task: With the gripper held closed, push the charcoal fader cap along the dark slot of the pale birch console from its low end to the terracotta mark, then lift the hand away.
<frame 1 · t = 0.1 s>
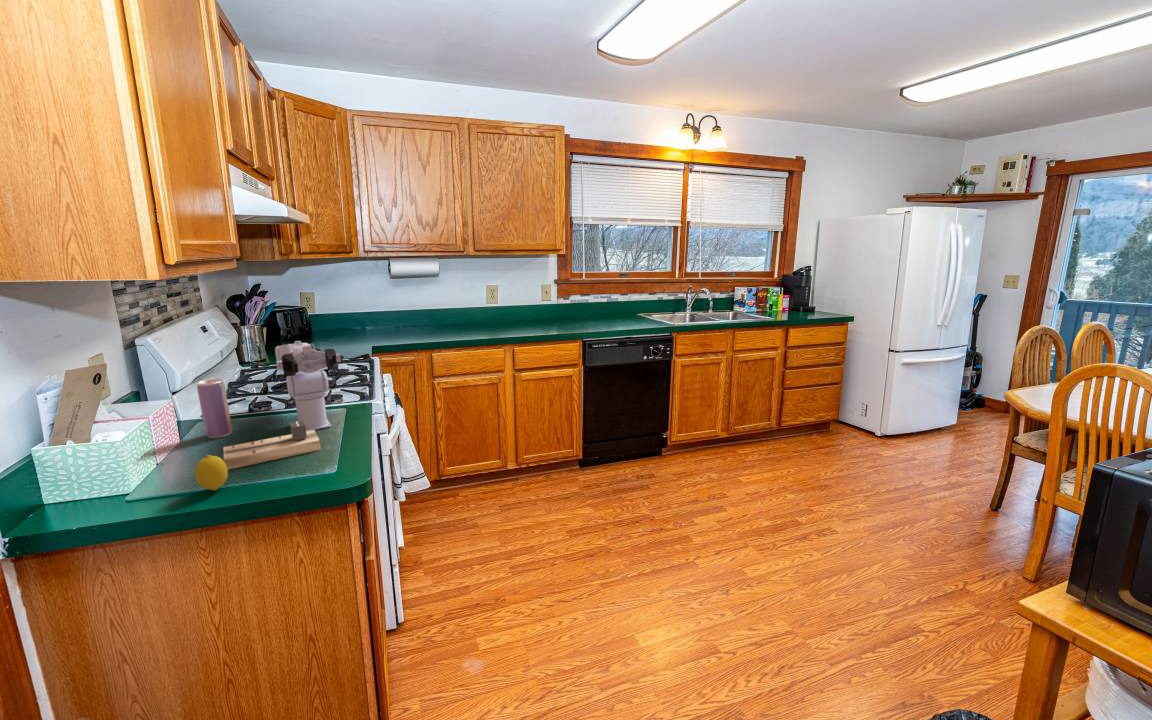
hand: (314, 365, 125), 22 cm above the countertop, tool horizontal, fingers open, 7 cm apart
lemon: (215, 491, 109), on the countertop
beverage can: (220, 435, 140), on the countertop
fader: (298, 430, 129), point 5 cm above the countertop, slide at 0.0 cm
console: (273, 453, 127), on the countertop
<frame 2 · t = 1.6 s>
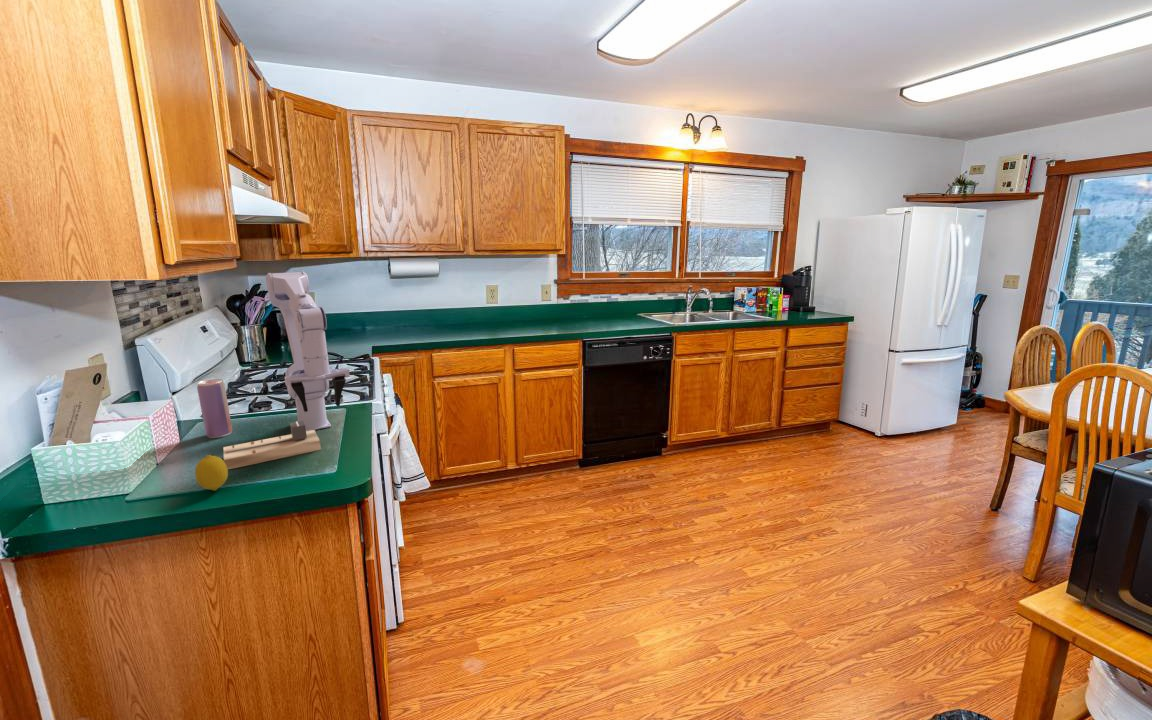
hand: (321, 407, 132), 9 cm above the countertop, tool pointing down, fingers open, 7 cm apart
nothing on the countertop moved.
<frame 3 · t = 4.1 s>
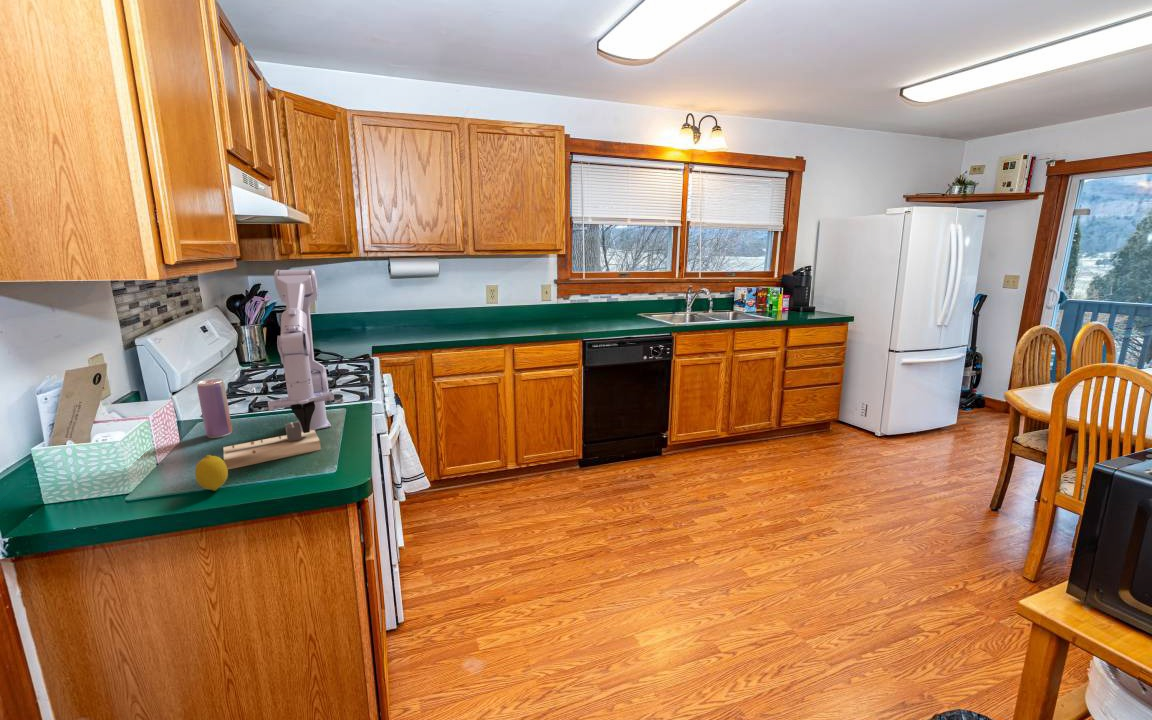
hand: (306, 431, 130), 4 cm above the countertop, tool pointing down, fingers closed
fader: (293, 431, 129), point 5 cm above the countertop, slide at 1.1 cm, touching gripper
everything else where it was.
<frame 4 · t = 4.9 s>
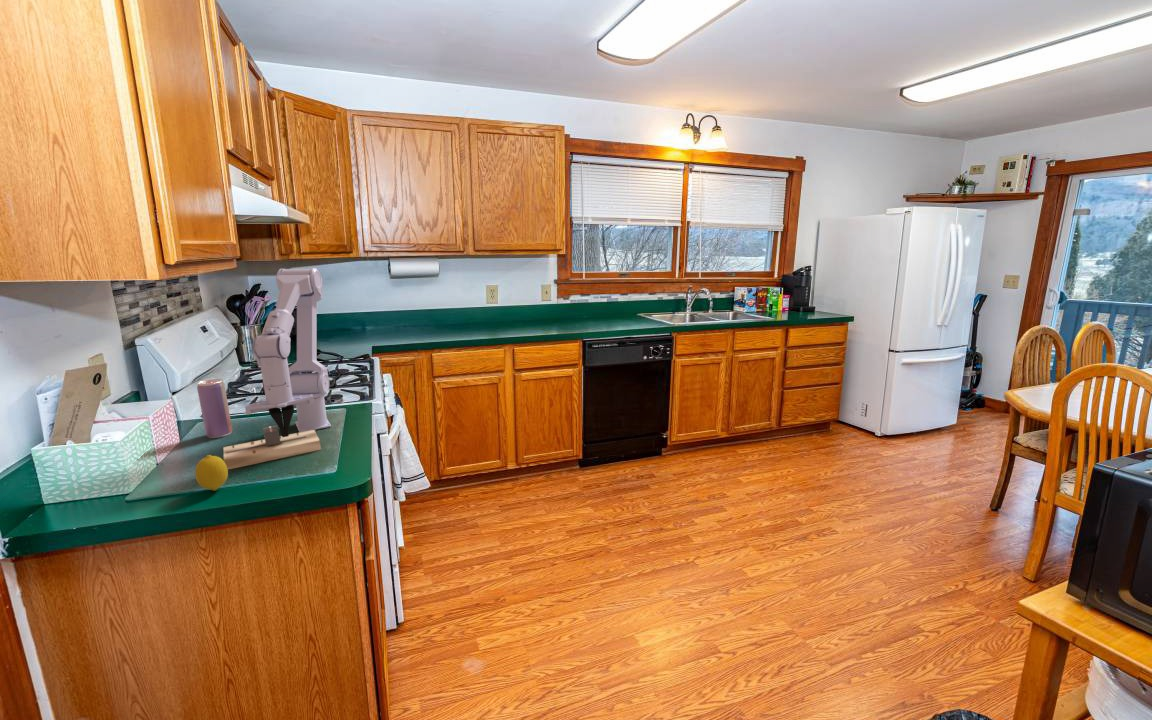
hand: (285, 435, 128), 4 cm above the countertop, tool pointing down, fingers closed
fader: (271, 435, 126), point 5 cm above the countertop, slide at 5.8 cm, touching gripper
everything else where it was.
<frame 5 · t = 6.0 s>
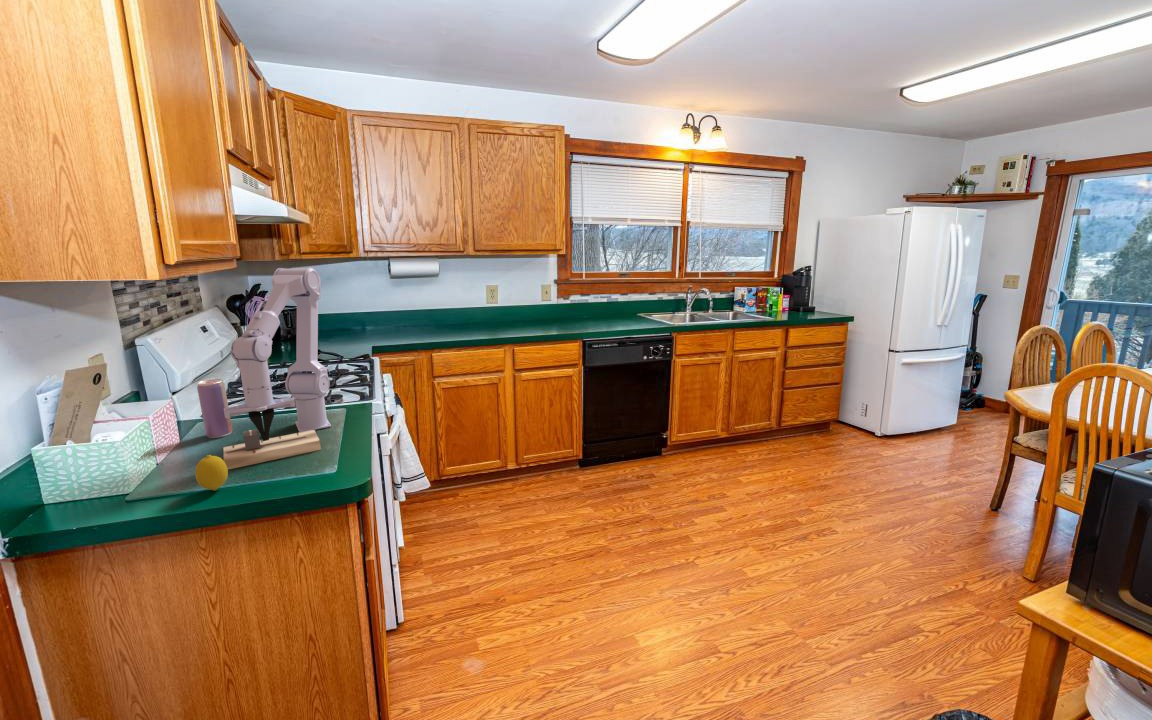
hand: (265, 439, 126), 4 cm above the countertop, tool pointing down, fingers closed
fader: (251, 439, 124), point 5 cm above the countertop, slide at 10.0 cm, touching gripper
everything else where it was.
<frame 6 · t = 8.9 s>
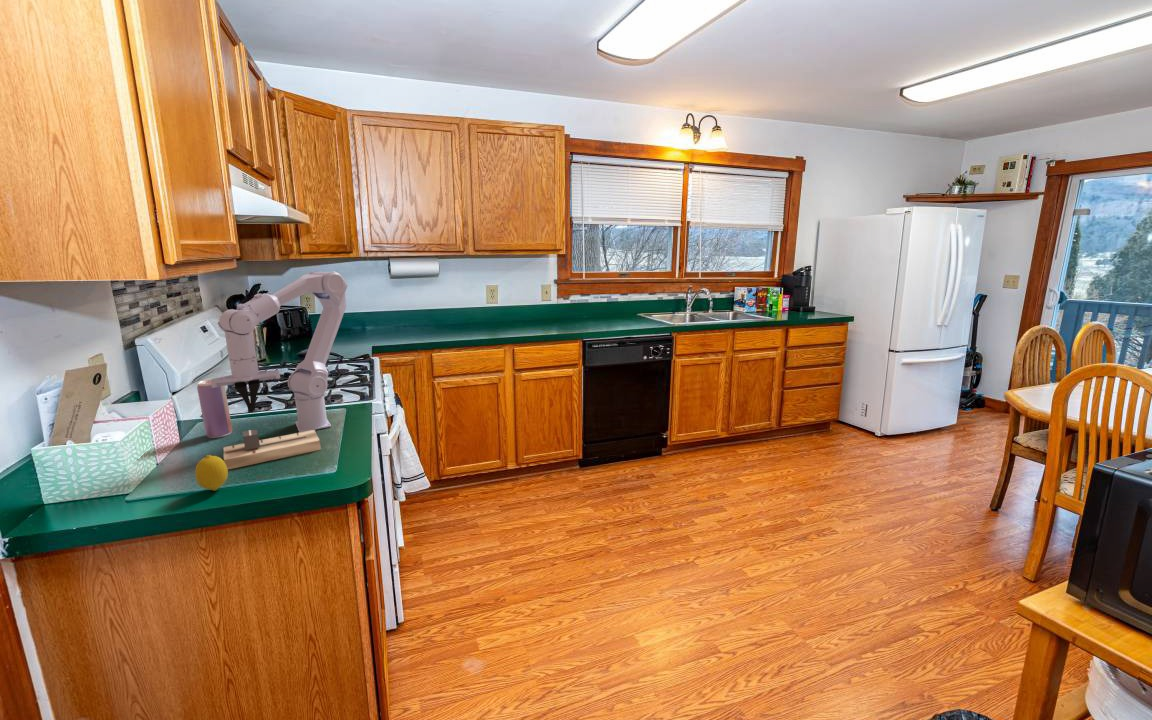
hand: (251, 409, 131), 9 cm above the countertop, tool pointing down, fingers closed
fader: (251, 439, 124), point 5 cm above the countertop, slide at 10.1 cm
everything else where it was.
at the end: fader slide at 10.1 cm; the gripper is holding nothing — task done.
